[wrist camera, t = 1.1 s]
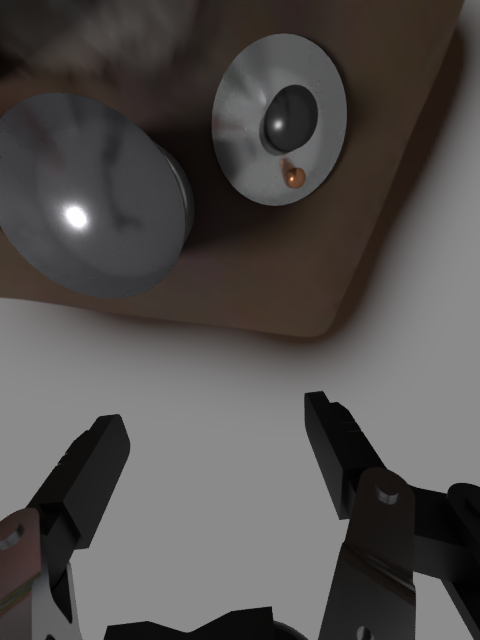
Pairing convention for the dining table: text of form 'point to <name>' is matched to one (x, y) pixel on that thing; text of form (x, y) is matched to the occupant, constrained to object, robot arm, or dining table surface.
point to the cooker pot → (91, 196)
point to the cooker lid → (279, 119)
